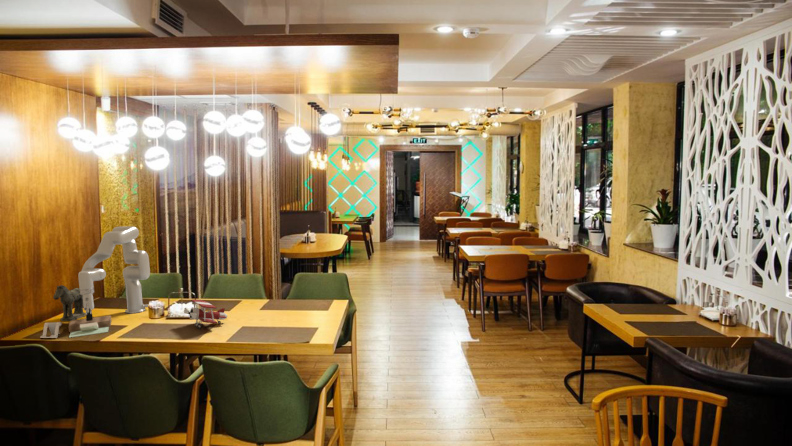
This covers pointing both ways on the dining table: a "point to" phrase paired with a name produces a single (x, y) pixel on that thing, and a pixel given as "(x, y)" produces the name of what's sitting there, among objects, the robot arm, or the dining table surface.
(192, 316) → the toy airplane
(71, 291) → the statue
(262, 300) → the dining table surface
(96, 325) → the cream rectangular block
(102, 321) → the deck
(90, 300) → the robot arm
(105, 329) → the mat
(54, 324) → the portable electronic device stand
